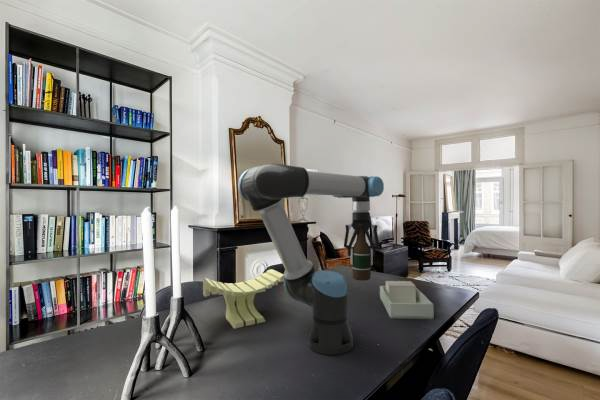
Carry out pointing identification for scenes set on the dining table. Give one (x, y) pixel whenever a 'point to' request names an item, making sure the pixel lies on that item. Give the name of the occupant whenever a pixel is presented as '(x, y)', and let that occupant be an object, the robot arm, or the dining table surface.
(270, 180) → the robot arm
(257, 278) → the slatted curved stool
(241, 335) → the dining table surface
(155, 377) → the dining table surface
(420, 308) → the tote
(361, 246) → the beer bottle
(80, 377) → the dining table surface
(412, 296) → the off-white rectangular block
